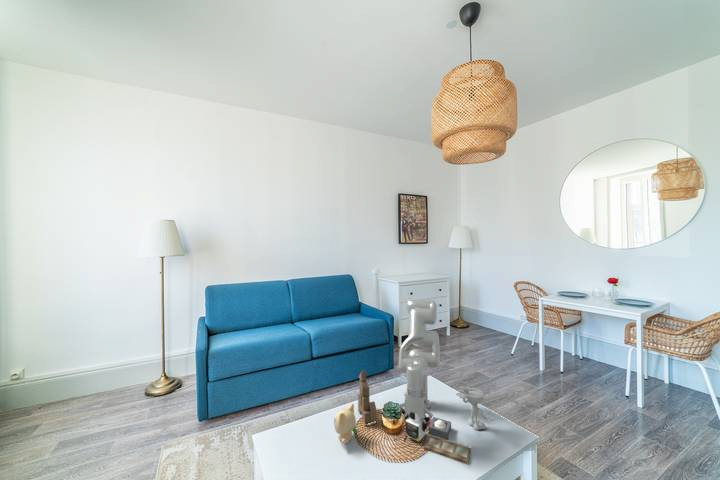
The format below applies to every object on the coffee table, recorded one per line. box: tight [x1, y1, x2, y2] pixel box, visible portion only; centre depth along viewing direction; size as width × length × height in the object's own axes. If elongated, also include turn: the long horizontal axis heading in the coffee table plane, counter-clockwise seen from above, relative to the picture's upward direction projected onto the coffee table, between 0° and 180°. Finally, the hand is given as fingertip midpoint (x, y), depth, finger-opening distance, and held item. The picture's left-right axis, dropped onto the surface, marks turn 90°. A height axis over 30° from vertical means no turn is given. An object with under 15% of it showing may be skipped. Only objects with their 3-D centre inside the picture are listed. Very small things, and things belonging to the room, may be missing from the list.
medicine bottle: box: [405, 412, 427, 442], centre depth 134 cm, size 7×7×12 cm
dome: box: [434, 420, 446, 430], centre depth 138 cm, size 5×5×5 cm
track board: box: [425, 434, 472, 465], centre depth 126 cm, size 18×9×1 cm, turn 61°
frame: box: [421, 433, 430, 449], centre depth 133 cm, size 11×11×1 cm
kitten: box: [333, 403, 357, 445], centre depth 134 cm, size 15×10×15 cm
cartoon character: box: [455, 386, 496, 431], centre depth 141 cm, size 25×12×20 cm, turn 19°
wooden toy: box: [357, 370, 377, 424], centre depth 151 cm, size 16×7×25 cm, turn 15°
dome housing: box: [428, 416, 452, 441], centre depth 138 cm, size 9×9×4 cm
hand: (415, 426), depth 134 cm, fingers closed on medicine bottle, 8 cm apart
